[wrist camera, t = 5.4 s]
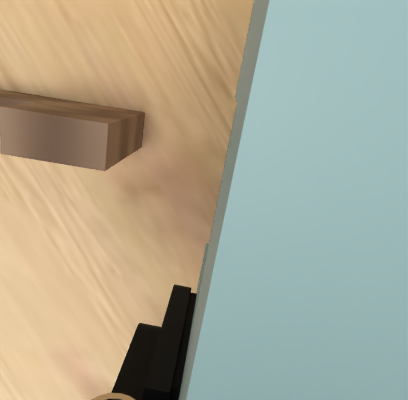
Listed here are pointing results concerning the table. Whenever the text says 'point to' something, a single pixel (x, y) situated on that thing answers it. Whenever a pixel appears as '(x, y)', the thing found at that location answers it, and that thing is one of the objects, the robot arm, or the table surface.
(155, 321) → the table surface
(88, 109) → the slotted stand
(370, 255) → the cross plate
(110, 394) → the robot arm
